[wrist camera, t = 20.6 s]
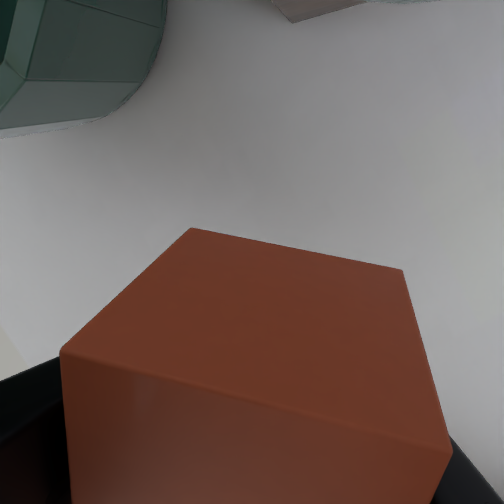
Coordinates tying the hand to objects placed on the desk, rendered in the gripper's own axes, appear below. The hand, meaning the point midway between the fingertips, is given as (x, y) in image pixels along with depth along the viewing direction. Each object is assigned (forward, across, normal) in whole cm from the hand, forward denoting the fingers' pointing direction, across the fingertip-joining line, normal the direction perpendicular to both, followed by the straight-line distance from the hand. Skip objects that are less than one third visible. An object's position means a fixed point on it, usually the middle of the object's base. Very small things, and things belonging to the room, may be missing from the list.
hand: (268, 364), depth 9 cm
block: (+1, 0, 0) cm, 1 cm away
